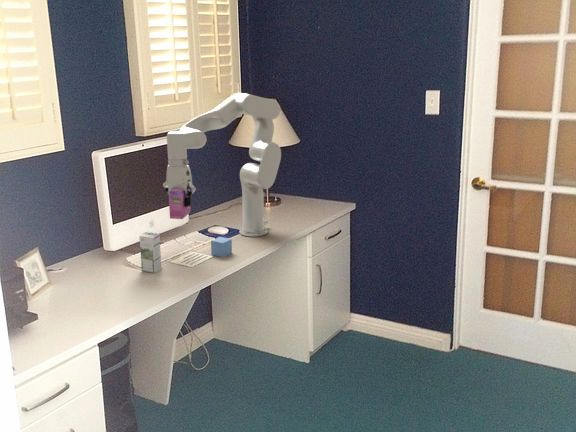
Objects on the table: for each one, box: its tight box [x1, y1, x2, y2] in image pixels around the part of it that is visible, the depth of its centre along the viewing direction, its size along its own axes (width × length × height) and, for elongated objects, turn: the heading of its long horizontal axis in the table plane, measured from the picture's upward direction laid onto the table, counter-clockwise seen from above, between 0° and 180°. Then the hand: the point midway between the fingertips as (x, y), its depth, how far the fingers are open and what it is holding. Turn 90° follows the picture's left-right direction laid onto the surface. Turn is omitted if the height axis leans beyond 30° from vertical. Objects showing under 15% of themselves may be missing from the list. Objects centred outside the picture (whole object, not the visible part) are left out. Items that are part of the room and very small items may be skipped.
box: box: [168, 188, 192, 220], centre depth 274 cm, size 10×6×12 cm, turn 169°
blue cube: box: [210, 236, 233, 258], centre depth 274 cm, size 6×6×6 cm
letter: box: [169, 251, 214, 268], centre depth 268 cm, size 14×11×1 cm
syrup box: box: [139, 231, 162, 274], centre depth 255 cm, size 6×6×14 cm
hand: (180, 204), depth 274 cm, fingers closed on box, 7 cm apart
